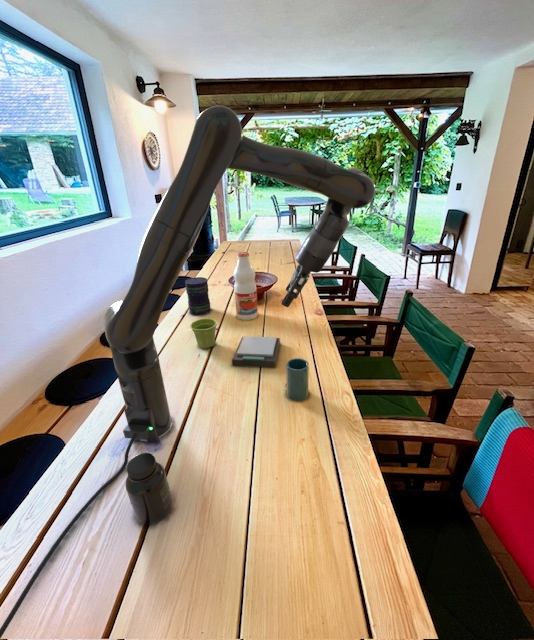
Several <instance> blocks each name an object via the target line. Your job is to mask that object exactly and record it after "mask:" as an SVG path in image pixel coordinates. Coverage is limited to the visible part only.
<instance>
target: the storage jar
mask: <svg viewBox="0 0 534 640" xmlns="http://www.w3.org/2000/svg"><path fill="white" fill-rule="evenodd" d="M184 284H185V293H186V295H187V302H188V303H187V304H188V305H187V306H188V311H189V314H190V315H191V316H196V317H197V316H198V317H199V316H205V315H208V314H210V313H211V309H212V308H211V301H210V297H209V283H208V278H206V277H202V276H197V277H191V278H188V279H185V280H184Z"/></svg>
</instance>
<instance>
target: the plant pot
mask: <svg viewBox="0 0 534 640" xmlns="http://www.w3.org/2000/svg"><path fill="white" fill-rule="evenodd" d="M217 325H218V321H217V320H216V319H213V318H199V319H196V320H194V321H192V322H191V323H190V329H191V331H192V332H193V334H194V337H195V340H196V343H197V346H198V347H199V348H200V349H203V350H206V349H207V350H208V349H209V348H213V347H214V346H215V344H216V328H217Z"/></svg>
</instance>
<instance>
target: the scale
mask: <svg viewBox="0 0 534 640" xmlns="http://www.w3.org/2000/svg"><path fill="white" fill-rule="evenodd" d="M280 345H281V338H280V337H273V336H272V337H271V336H241V339H240V341H239V343H238V345H237V348H236V350H235V352H234V354H233V355H232V358H231V365H232V366H233V367H253V368H273V369H274V368H276V363H277V359H278V355H279V350H280Z"/></svg>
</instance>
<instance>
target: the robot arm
mask: <svg viewBox="0 0 534 640" xmlns="http://www.w3.org/2000/svg"><path fill="white" fill-rule="evenodd" d="M243 133H244V131H243V127H242V123H241V121H240V118H239V116H238V115H237V114H236V112H235V111H234V110H232V109H231V108H230V107H227V106H225V105H213V106H210V107H207V108H206V109H205V110H203V111H202V112H201V113H200V114H199V116H197V118H196V120H195V123H194V126H193V130H192V133H191V137H190V140H189V142H188V145H187V149H186V152H185V154H184V157H183V160H182V161H181V165H180V167H179V169H178V172H177V173H176V175H175V176H174V178H173V181H172V182H171V184H170V185H169V187H168V189H167V190H166V192H165V194H164V195H163V197H162V199H161V201H160V203H159V205H158V207H157V209H156V211H155V213H154V215H153V216H152V219H151V221H150V222H149V225H148V228H147V229H146V232H145V234H144V236H143V239H142V242H141V246H140V249H139V253H138V258H137V261H136V265H135V270H134V274H133V278H132V282H131V284H130V287H129V289H128V291H127V293H126V294H125V296H124V299H123V300H119V301H117V302H114V303H112V304H111V305H110V306H109V307H108V308H107V309H106V311H105V313H104V316H103V328H104V334H105V338H106V340H107V342H108V345H109V349H110V352H111V356H112V360H113V365H114V370H115V372H116V375H117V379H118V383H119V386H120V391H121V394H122V397H123V402H124V405H125V408H124V409H123V411H124V415H125V418H126V423H127V425H126V426H125V427H124V428H123V430H122V433H123V435H124V438H125V439H130V440H129V443H128V445H127V447H126V450H125V452H124V460H123V464H122V465H121V466H120V469H119V470H118V471H117V472H116V473H115V474H114V475H113V476H112V477H110V479H108V480H107V481H106V482H105V483H104V484H103V485H102V486H101V487H100V488H99V489H98V490H97V491H96V492H95V493H94V494H93V495H92V497H90V498H89V500H88V501H87V502H86V503H85V504H84V505H83V507H82V508H81V509H80V510H79V511H78V512H77V513H76V514H75V516H74V517H73V518H72V519H71V520H70V522H69V523H68V525H66V527H65V529H64V530H62V532H61V534H60V535H59V536H58V538H57V539H56V540H55V542H54V543H53V545H52V546H51V548H50V549H49V550H48V552H47V554H46V555H45V556H44V557H43V560H42V561H41V562H40V564H39V565H38V567H37V569H36V570H35V571H34V573H33V575H32V576H31V577H30V580H29V581H28V582H27V584H26V585H25V587H24V588H23V591H22V592H21V594H20V595H19V597H18V599H17V601H15V604H14V605H13V607H12V609H11V611H10V612H9V614H8V616H6V618H5V620H4V622H3V623H2V624H1V627H0V639H1V638H2V637H3V635H4V634H5V632H6V631H7V628H8V627H9V625H10V623H11V622H12V620H13V618H14V617H15V615H16V614H17V612H18V611H19V609H20V607H21V605H22V604H23V602H24V601H25V599H26V597H27V595H28V594H29V591H30V590H31V588H32V586H33V585H34V584H35V582H36V581H37V578H38V577H39V575H40V574H41V572H42V570H43V569H44V568H45V566H46V564H47V563H48V561H50V558H51V557H52V555H53V554H54V553H55V551H56V550H57V548H58V547H59V545H60V543H61V542H62V541H63V540H64V538H65V536H66V535H68V533H69V531H70V530H71V529H72V527H73V526H74V525H75V524H76V522H77V521H78V520H79V518H80V517H81V516H82V515H83V513H84V512H86V510H87V509H88V508H89V506H91V504H92V503H93V502H94V501H95V500H96V498H97V497H99V495H100V494H101V493H102V492H103V491H104V490H105V489H106V488H107V487H108V486H110V485H111V484H112V483H113V482H114V481H115V480H116V479H117V478H118V477H119V476H120V475H121V474H122V473H123V472H124V470H125V468H127V465H128V463H129V455H130V454H129V453H130V451H131V448H132V446H133V444H134V442H139V443H151V444H157V443H158V442H159V440H161V439H163V438H164V437H166V436H167V435H168V434H169V433H170V432H171V430H172V428H173V419H172V416H171V411H170V406H169V402H168V397H167V393H166V388H165V383H164V378H163V371H162V369H161V362H160V358H159V354H158V351H157V347H156V343H155V339H154V335H155V332H156V329H157V326H158V323H159V321H160V318H161V314H162V312H163V309H164V307H165V306H164V305H165V304H166V300H167V299H168V297H169V294H170V293H171V291H172V289H173V287H174V286H175V284H176V281H177V280H178V278H179V276H180V274H181V272H182V270H183V267H184V266H185V264H186V262H187V260H188V259H189V256H190V255H191V252H192V250H193V248H194V247H195V244H196V241H197V239H198V238H199V236H200V232H201V230H202V227H203V225H204V222H205V219H206V217H207V213H208V211H209V208H210V204H211V201H212V199H213V195H214V193H215V191H216V189H217V186H218V185H219V183H220V181H221V179H222V178H223V176H224V174H225V173H226V171H227V170H229V169H230V170H237V171H242V172H246V173H251V174H256V175H261V176H263V177H267V178H271V179H273V180H276V181H279V182H282V183H284V184H285V183H286V184H288V185H291V186H294V187H297V188H299V189H303V190H306V191H308V192H312V193H315V194H319V195H322V196H324V197H326V198H327V201H326V203H325V207H324V209H323V212H321V215H320V216H319V218H318V219H317V221H316V223H315V224H314V226H313V228H312V229H311V230H310V231H309V232H308V234H307V236H306V238H305V239H304V241H303V243H302V244H301V246H300V248H299V250H298V251H297V253H296V255H295V261H296V263H298V265H297V266H296V267H295V269H294V270H293V273H292V276H291V279H290V281H289V283H288V284H287V286H286V288H285V291H286V292H287V293H286V294H285V296H284V297H283V298H282V301H281V305H282V306H283V307H285V308H289V307H290V305H291V304H292V302H293V301H294V300H296V299H298V297H299V295H300V294H301V292H302V290H303V288H304V287H305V285H306V284H307V283H308V281H309V279H310V276H311V275H310V274H311V273H320V272H321V271H322V270H323V268H324V267H325V265H326V263H327V262H328V261H329V259H330V257H331V256H332V254H333V253H334V252H335V249H336V248H337V246H338V243H339V241H340V240H341V238H342V237H343V236H344V234H345V232H346V231H347V229H348V227H349V225H350V213H351V211H352V209H361V208H364V207H365V208H366V206H369V204H370V203H372V201H373V200H374V197H375V196H376V185H375V183H374V180H373V179H372V178H371V177H370V176H369V175H367V174H366V173H365V172H364V171H363V170H361V169H360V168H358V167H350V168H347V169H346V168H343V167H341V166H339V165H337V164H336V163H335V162H333V161H332V160H330V159H327V158H325V157H322V156H320V155H317V154H315V153H311V152H309V151H306V150H302V149H298V148H293V147H286V146H279V145H271V144H269V143H268V144H267V143H264V142H260V141H258V140H255V139H252V138H250V137H248V136H246V135H244V134H243ZM295 290H296V291H295Z"/></svg>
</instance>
